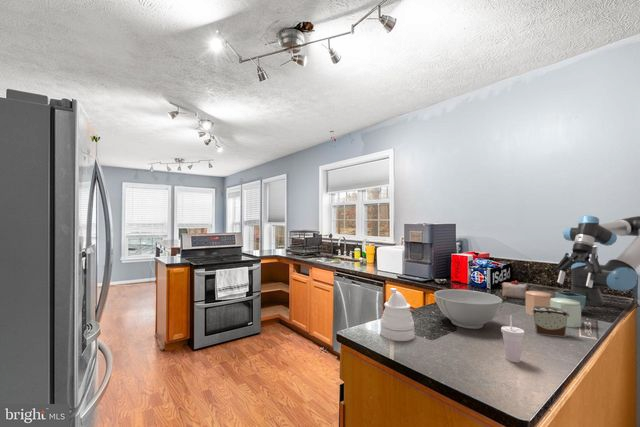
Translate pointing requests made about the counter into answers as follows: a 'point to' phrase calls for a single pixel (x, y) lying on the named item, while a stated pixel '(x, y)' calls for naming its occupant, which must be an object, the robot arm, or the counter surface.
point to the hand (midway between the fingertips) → (573, 285)
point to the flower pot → (572, 297)
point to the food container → (550, 320)
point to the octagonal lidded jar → (536, 300)
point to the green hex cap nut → (569, 310)
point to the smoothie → (512, 342)
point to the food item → (515, 290)
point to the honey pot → (397, 318)
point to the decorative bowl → (468, 307)
